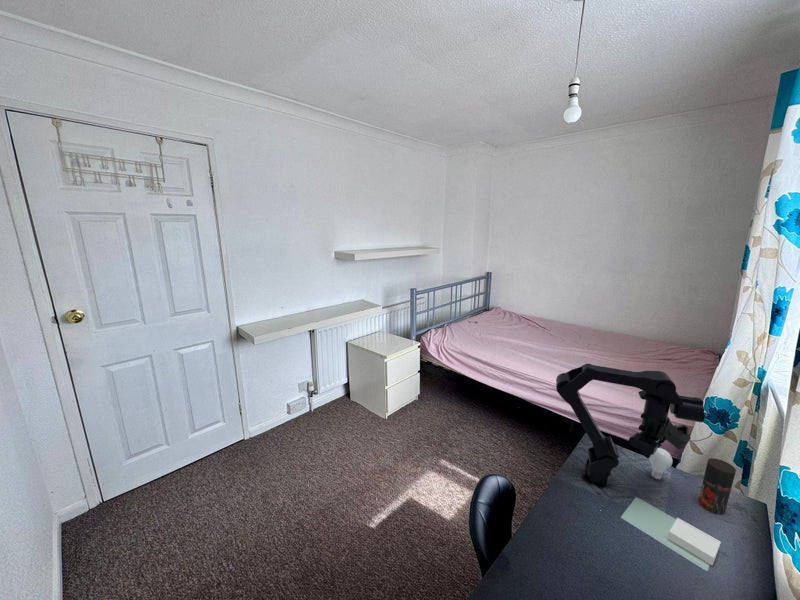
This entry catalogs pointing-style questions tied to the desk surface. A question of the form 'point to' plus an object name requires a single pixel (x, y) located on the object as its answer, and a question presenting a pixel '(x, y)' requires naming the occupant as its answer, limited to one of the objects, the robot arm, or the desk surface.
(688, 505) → the desk surface
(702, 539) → the block
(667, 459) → the lightbulb
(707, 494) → the deodorant
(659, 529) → the mat
